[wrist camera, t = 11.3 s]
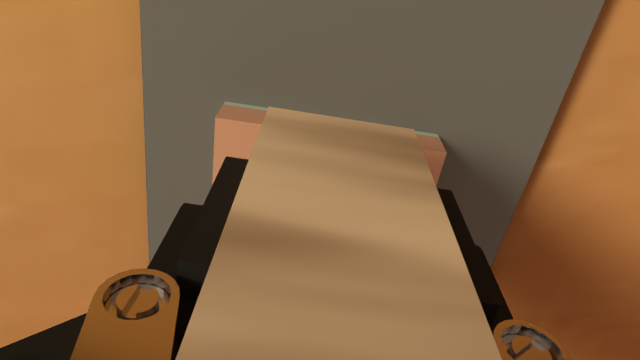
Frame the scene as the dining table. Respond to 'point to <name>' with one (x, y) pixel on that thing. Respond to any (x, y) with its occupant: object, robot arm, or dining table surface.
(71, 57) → the dining table surface
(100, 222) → the dining table surface
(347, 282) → the light wood block
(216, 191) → the robot arm
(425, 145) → the tile
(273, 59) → the mat
